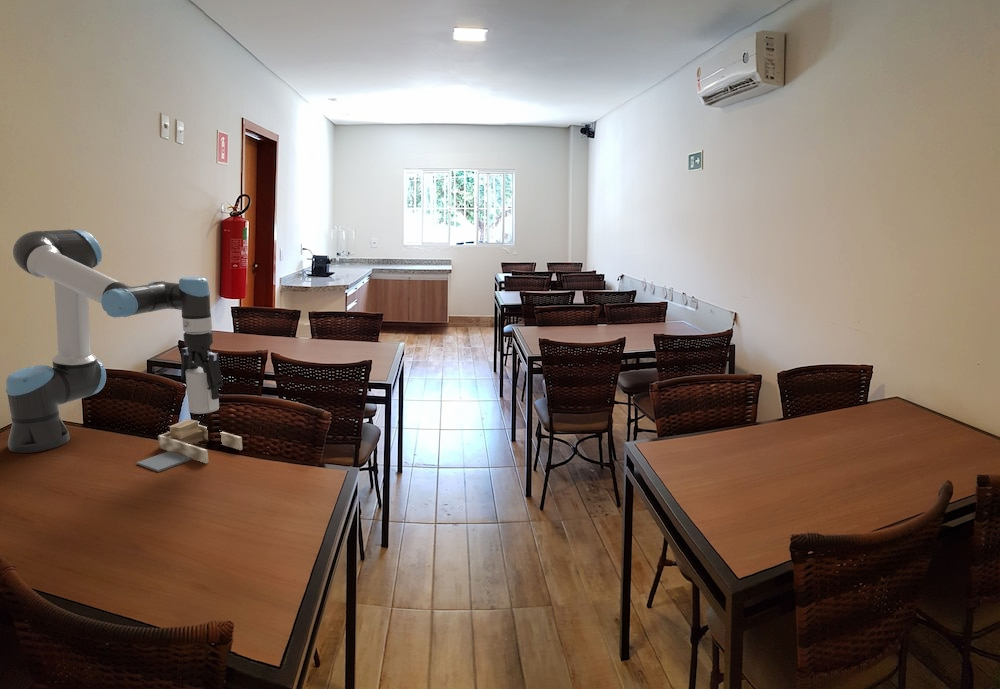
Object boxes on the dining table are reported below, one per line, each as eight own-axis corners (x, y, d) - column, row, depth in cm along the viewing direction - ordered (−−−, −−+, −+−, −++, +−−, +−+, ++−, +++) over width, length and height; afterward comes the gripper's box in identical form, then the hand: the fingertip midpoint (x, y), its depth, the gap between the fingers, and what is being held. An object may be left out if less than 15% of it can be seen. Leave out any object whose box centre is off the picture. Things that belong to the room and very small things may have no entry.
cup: (224, 405, 187) (221, 367, 184) (209, 414, 179) (206, 374, 176) (198, 403, 187) (195, 365, 185) (183, 412, 180) (179, 372, 177)
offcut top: (170, 437, 190) (169, 426, 189) (188, 429, 196) (187, 419, 195) (180, 438, 188) (179, 428, 188) (198, 431, 195) (197, 420, 194)
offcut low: (168, 447, 190) (167, 437, 190) (195, 438, 198) (194, 428, 197) (176, 450, 189) (175, 439, 188) (203, 441, 196) (202, 430, 195)
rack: (159, 447, 189) (157, 435, 188) (196, 435, 200) (195, 423, 199) (206, 463, 179) (204, 450, 178) (242, 449, 190) (241, 437, 189)
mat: (137, 464, 178) (136, 462, 177) (169, 452, 186) (169, 450, 186) (158, 472, 173) (158, 470, 173) (191, 459, 181) (191, 457, 181)
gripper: (162, 329, 179) (169, 403, 184) (210, 338, 170) (216, 416, 175) (186, 325, 186) (192, 397, 191) (233, 333, 176) (238, 409, 181)
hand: (203, 406), depth 183 cm, fingers closed on cup, 8 cm apart
